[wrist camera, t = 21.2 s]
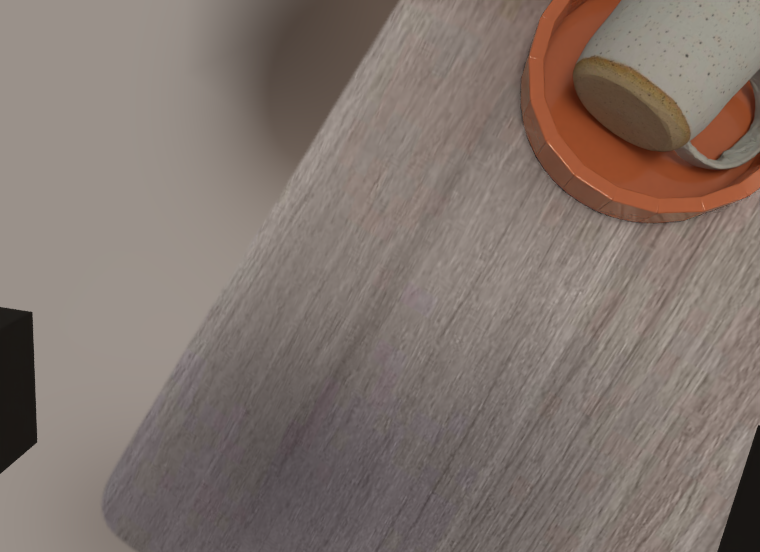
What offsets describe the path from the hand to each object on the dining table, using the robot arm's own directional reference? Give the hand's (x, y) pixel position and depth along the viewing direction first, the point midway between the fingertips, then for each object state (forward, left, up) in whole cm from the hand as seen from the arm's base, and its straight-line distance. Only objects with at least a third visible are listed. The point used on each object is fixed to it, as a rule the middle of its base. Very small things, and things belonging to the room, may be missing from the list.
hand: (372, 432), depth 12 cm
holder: (-10, +18, -26) cm, 33 cm away
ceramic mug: (-10, +19, -25) cm, 33 cm away
